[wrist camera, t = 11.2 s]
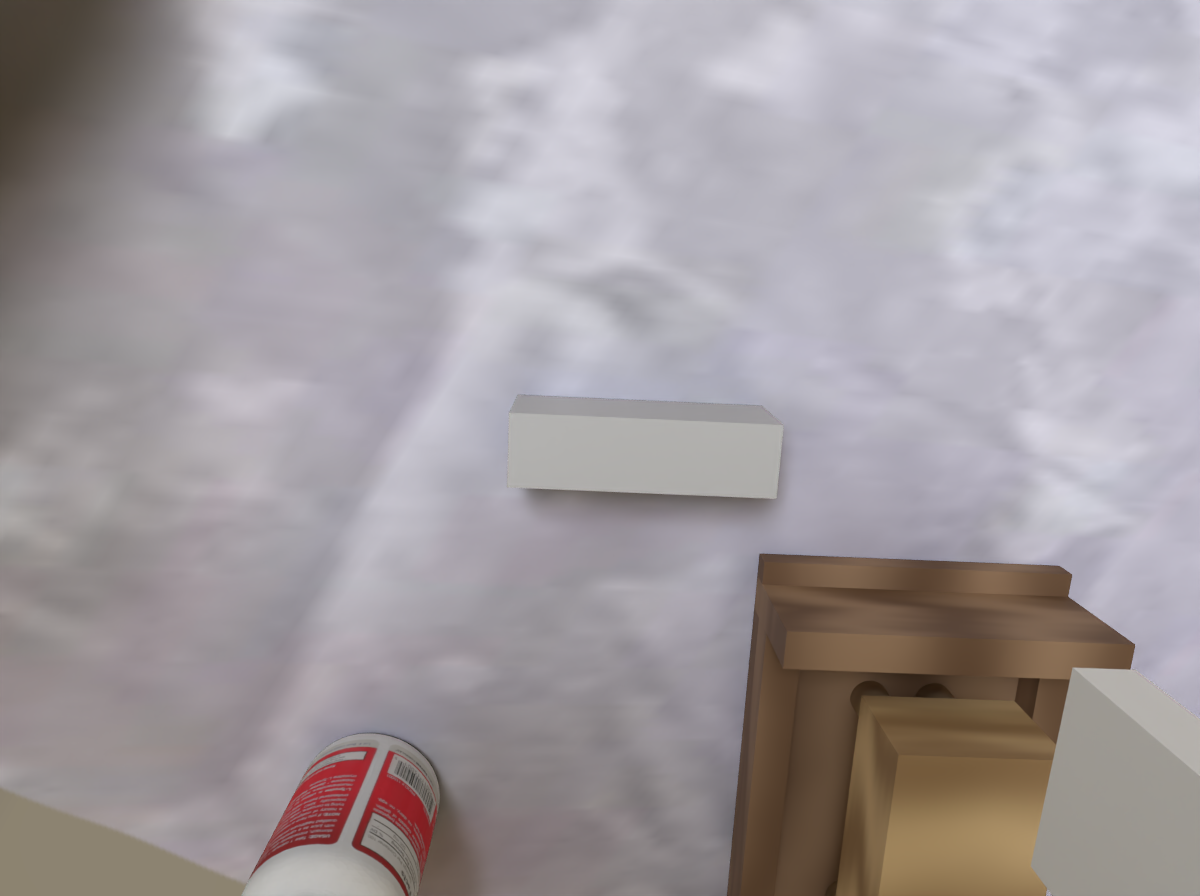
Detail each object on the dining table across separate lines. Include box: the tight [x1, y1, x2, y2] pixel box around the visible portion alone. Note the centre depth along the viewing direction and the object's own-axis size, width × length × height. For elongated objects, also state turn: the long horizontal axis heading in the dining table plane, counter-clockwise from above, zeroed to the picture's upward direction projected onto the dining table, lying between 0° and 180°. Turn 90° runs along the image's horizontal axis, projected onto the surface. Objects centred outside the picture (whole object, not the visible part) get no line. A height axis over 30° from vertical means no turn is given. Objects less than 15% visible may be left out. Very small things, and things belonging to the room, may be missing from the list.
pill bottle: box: [242, 733, 440, 896], centre depth 33 cm, size 6×6×11 cm
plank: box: [836, 695, 1056, 896], centre depth 32 cm, size 14×6×4 cm, turn 177°
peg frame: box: [727, 554, 1135, 896], centre depth 36 cm, size 13×22×6 cm, turn 177°
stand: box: [507, 395, 784, 499], centre depth 33 cm, size 10×3×4 cm, turn 87°
